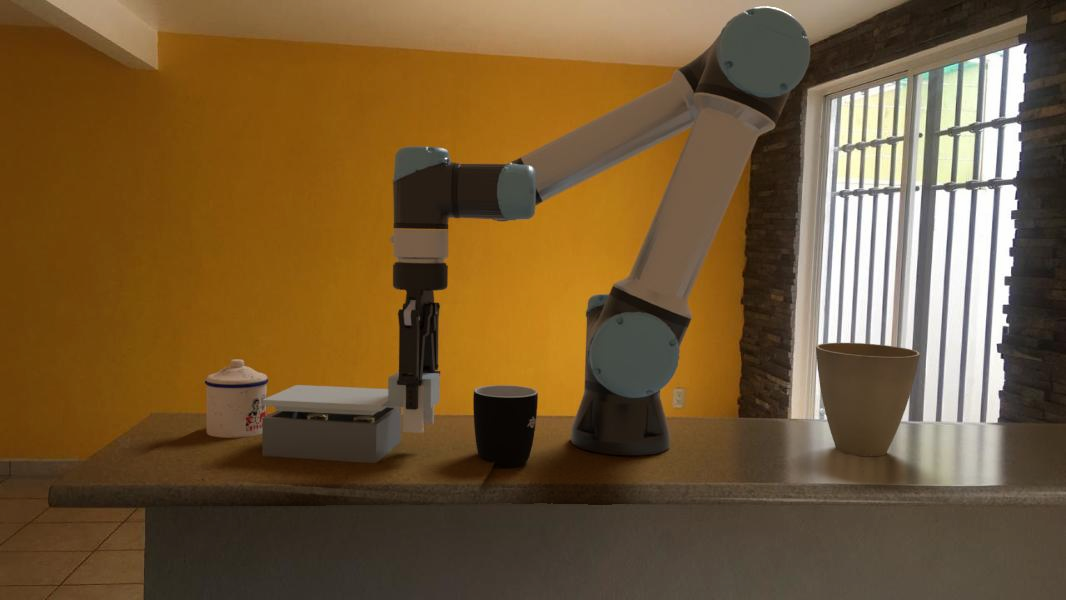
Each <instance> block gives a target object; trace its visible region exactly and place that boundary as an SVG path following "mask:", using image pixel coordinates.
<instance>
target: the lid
mask: <svg viewBox="0 0 1066 600" xmlns="http://www.w3.org/2000/svg"><path fill="white" fill-rule="evenodd" d="M440 376H441V373H440V374H438V373H423V374H422V384H421V385H424V408H432V407H433V406H434V407H435V406H436V405H437V404H438V403H439V402H440V385H441V384H440V382H441V381H440V380H441V379H440V378H441V377H440ZM398 377H399V371H397V372H396V373H393V374H392V375H391V376H388V378H387V381H388V382H387V385H388V386H387V388H373V387H372V388H371V387H354V386H353V387H350V386H332V385H331V386H328V385H305V384H304V385H303V384H295V385H293V386H291V387H288V388H287V389H284V390H281V391H280V392H277V393H275V394H272V395H270V396H268V397H267V398H265V399H263V400H262V406H267V407H274V412H276V411H295V412H315V413H336V414H356V415H374V414H375V413H377V412H378V411H382V410H383V409H385V408H386V407H388V406H390V407H401V408H403V385H397V380H398Z"/></svg>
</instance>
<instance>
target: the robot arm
mask: <svg viewBox="0 0 1066 600" xmlns="http://www.w3.org/2000/svg"><path fill="white" fill-rule="evenodd" d="M810 60H811V46H810V40H809V37H808V35H807V33H806V30H805V28H804V27H803V25H802V24H801V22H799V20H798V19H797V18H796V17H794V16H793V15H792V14H790V13H789V12H787V11H784V10H783V9H780V8H778V7H772V6H756V7H752V8H749V9H746V10H745V11H742V12H740V13H739V14H737V15H735V16H733V17H732V18H731V19H730V20H728V21H727V22H726V24H725V26H724V27H723V28H722V29H721V32H720V33H719V35H718V36H717V37H716V39H715V40H714V42H712V44H711V45H710V46H709V47H708V48H707V49H706V50H704V52H703V53H701V54H700V55H699V56H697V57H696V58H694V59H693V60H691V62H689V63H687V64H685V65H683V66H682V67H680V68H678V69H676V70H674V71H673V74H672V77H671V79H670V80H669V81H668V82H665V83H664V84H662V85H660V86H658V87H655V88H653V89H652V90H650V91H648V92H646V93H644V94H642V95H640V96H638V97H636V98H635V99H633V100H630V101H628V102H626V103H625V104H623V105H620V106H618V107H616V108H615V109H613V110H610V111H609V112H607V113H604V114H603V115H602V116H599V117H597V118H595V119H593V120H591V121H589V122H587V123H585V124H584V125H581V126H580V127H578V128H575V129H573V130H571V131H569V132H567V133H566V134H564V135H562V136H559V137H558V138H555V139H554V140H552V141H550V142H548V143H546V144H544V145H542V146H540V147H538V148H536V149H534V150H532V151H531V152H528V153H526V154H524V155H522V156H521V157H519V158H517V159H514V160H512V161H510V162H507V163H460V162H451V161H452V160H451V158H450V153H449V151H448V150H447V149H446V148H443V147H439V146H438V147H435V146H420V145H419V146H403V147H401V148H399V149H398V150H397V151H396V153H395V156H394V170H393V172H394V173H393V179H392V186H393V187H392V190H393V191H392V193H393V195H392V196H393V235H391V236H390V237H389V242H390V243H392V244H393V252H392V253H393V257H394V258H395V259H397V261H395V262H394V264H392V287H393V288H394V289H395V290H400V291H401V290H402V291H406V292H405V293H406V295H405V301H404V303H403V304H402V308H399V309H398V312H397V316H398V328H399V330H398V333H399V334H398V337H399V338H398V372H399V377H398V380H397V385H403V407H402V408H403V409H402V413H403V414H402V431H403V433H416V434H417V433H418V434H423V433H424V431H425V429H424V428H425V425H427V424H429V425H433V424H434V423H435V420H434V419H435V405H434V406H433V407H432V408H424V385H421V384H422V374H423V373H438V374H440V375H441V370H438V369H439V322H440V321H439V320H440V319H439V315H440V308H441V304H440V302H435V296H434V294H435V293H434V291H435V292H436V291H444V290H446V289H447V288H448V282H449V281H448V280H449V279H448V278H449V277H448V276H449V265H448V264H447V263H446V262H445V259H448V258H449V218H452V219H477V220H478V219H479V220H493V221H497V222H508V221H516V220H530V219H532V218H533V217H534V215H535V214H536V206H538V205H539V204H541V203H543V202H545V201H547V200H550V199H551V198H553V197H555V196H557V195H560V194H561V193H564V192H565V191H567V190H569V189H572V188H573V187H575V186H577V185H580V184H581V183H583V182H585V181H587V180H589V179H591V178H593V177H595V176H597V175H600V174H601V173H603V172H605V171H607V170H609V169H611V168H613V167H615V166H617V165H619V164H621V163H624V162H625V161H627V160H630V159H631V158H633V157H635V156H638V155H639V154H641V153H643V152H646V151H647V150H649V149H651V148H653V147H655V146H657V145H659V144H661V143H663V142H666V140H670V139H671V138H673V137H675V136H677V135H679V134H682V133H683V132H685V131H687V130H689V129H690V132H689V134H688V136H687V139H686V141H685V144H684V146H683V148H682V151H681V153H680V155H679V157H678V160H677V161H676V164H675V166H674V168H673V171H672V173H671V177H670V179H669V181H668V183H667V186H666V188H665V190H664V193H663V195H662V197H661V200H660V202H659V205H658V206H657V209H656V212H655V213H654V216H653V219H652V221H651V223H650V226H649V228H648V230H647V233H646V235H645V238H644V240H643V243H642V245H641V247H640V249H639V252H638V253H637V256H636V258H635V261H634V263H633V265H632V268H631V270H630V272H629V274H628V276H627V277H625V278H623V279H620V280H619V281H616V282H614V283H613V284H612V287H611V289H610V291H609V293H602V294H601V293H600V294H594V295H592V296H590V297H589V299H587V300H588V301H587V309H586V310H585V318H586V335H585V357H584V358H585V360H584V362H585V363H584V364H585V365H584V390H583V391H584V392H583V395H582V398H581V401H580V404H579V406H578V409H577V412H576V415H575V416H574V417H575V418H574V420H573V423H572V426H571V433H570V434H571V435H570V436H571V437H570V442H571V443H572V445H574V446H575V447H577V448H580V449H581V450H585V451H589V452H594V453H598V454H603V455H604V454H605V455H612V456H613V455H615V456H646V455H648V456H649V455H655V454H660V453H663V452H666V450H668V449H669V448H670V443H671V442H670V439H671V432H670V428H669V425H668V421H667V417H666V413H665V410H664V406H663V403H662V399H661V390H662V389H663V388H665V387H666V386H667V385H668V384H669V382H671V380H672V379H673V377H674V376H675V374H676V371H677V368H678V366H679V361H680V357H681V356H680V351H681V349H680V347H681V344H682V342H683V340H684V337H685V336H686V334H687V333H686V332H687V331H688V328H689V326H690V323H691V322H692V318H693V314H692V311H691V309H690V306H689V303H688V299H689V297H690V295H691V293H692V290H693V288H694V287H695V283H696V282H697V279H698V277H699V274H700V272H701V270H702V267H703V264H704V262H705V261H706V258H707V256H708V253H709V251H710V249H711V247H712V244H713V242H714V240H715V237H716V236H717V232H718V231H719V228H720V226H721V223H722V221H723V219H724V216H725V214H726V212H727V209H728V208H729V205H730V202H731V200H732V198H733V196H734V193H735V192H736V189H737V186H738V184H739V182H740V179H741V178H742V176H743V172H744V170H745V168H746V166H747V163H748V161H749V159H750V156H751V155H752V152H753V150H754V148H755V145H756V142H757V140H758V138H759V136H761V135H763V134H765V133H767V132H770V131H772V130H774V129H775V128H776V125H777V123H778V120H779V118H780V116H781V114H782V112H783V109H784V107H785V105H786V103H787V100H788V98H789V96H790V94H791V91H792V90H793V89H795V88H796V86H798V85H799V84H800V82H801V81H802V79H803V78H804V76H805V75H806V72H807V69H808V67H809V65H810ZM424 424H425V425H424Z"/></svg>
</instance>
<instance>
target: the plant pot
mask: <svg viewBox="0 0 1066 600" xmlns="http://www.w3.org/2000/svg"><path fill="white" fill-rule="evenodd" d="M815 354H816V363H817V364H816V366H817V371H818V383H819V389H820V392H821V393H820V394H821V399H822V403H823V404H822V405H823V408H824V412H825V416H826V419H827V420H826V421H827V423H828V424H827V425H828V428H829V431H830V434H831V436H832V440H833V443H834V446H835V448H836V450H837V451H839V452H842V453H845V454H848V455H853V456H860V457H881V456H884V455H886V454H887V453H888V450H889V448H890V446H891V445H892V442H893V441H894V439H895V436H896V434H897V432H898V429H899V427H900V424H901V422H902V419H903V417H904V414H905V411H906V409H907V406H908V405H907V404H908V402H909V399H910V396H911V393H912V389H913V385H914V382H915V377H916V373H917V369H918V364H919V359H920V355H921V354H920V352H919V351H917V350H915V349H909V348H906V347H900V346H892V345H886V344H885V345H884V344H875V343H874V344H873V343H862V342H861V343H860V342H826V343H819V344H816V346H815Z"/></svg>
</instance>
